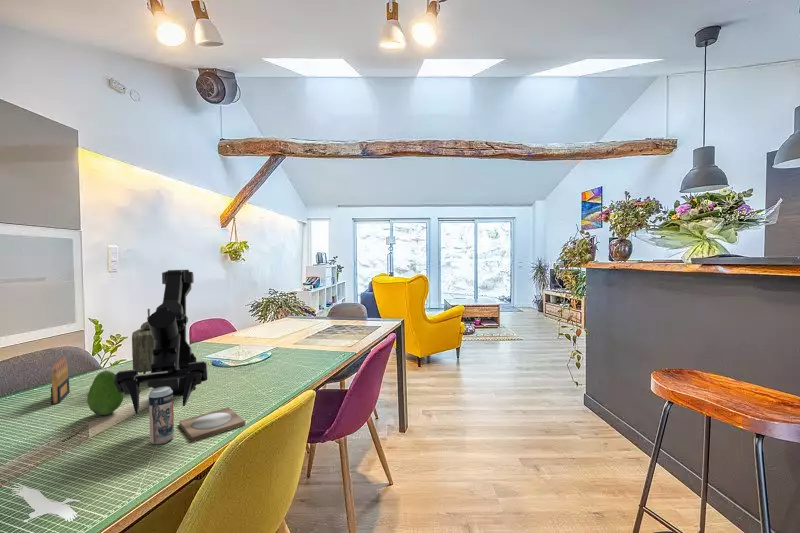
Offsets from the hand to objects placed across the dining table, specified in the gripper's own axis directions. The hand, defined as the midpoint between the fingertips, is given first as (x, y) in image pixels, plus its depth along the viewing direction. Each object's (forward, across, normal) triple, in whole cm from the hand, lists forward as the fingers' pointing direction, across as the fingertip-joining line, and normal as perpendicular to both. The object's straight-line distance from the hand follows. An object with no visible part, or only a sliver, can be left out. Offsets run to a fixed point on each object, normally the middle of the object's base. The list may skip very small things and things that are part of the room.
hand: (160, 409), depth 85 cm
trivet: (+2, -10, -8) cm, 13 cm away
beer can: (+5, 0, -6) cm, 8 cm away
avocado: (-13, +16, -24) cm, 31 cm away
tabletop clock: (-34, +11, -45) cm, 57 cm away
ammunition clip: (-28, +33, -38) cm, 58 cm away
